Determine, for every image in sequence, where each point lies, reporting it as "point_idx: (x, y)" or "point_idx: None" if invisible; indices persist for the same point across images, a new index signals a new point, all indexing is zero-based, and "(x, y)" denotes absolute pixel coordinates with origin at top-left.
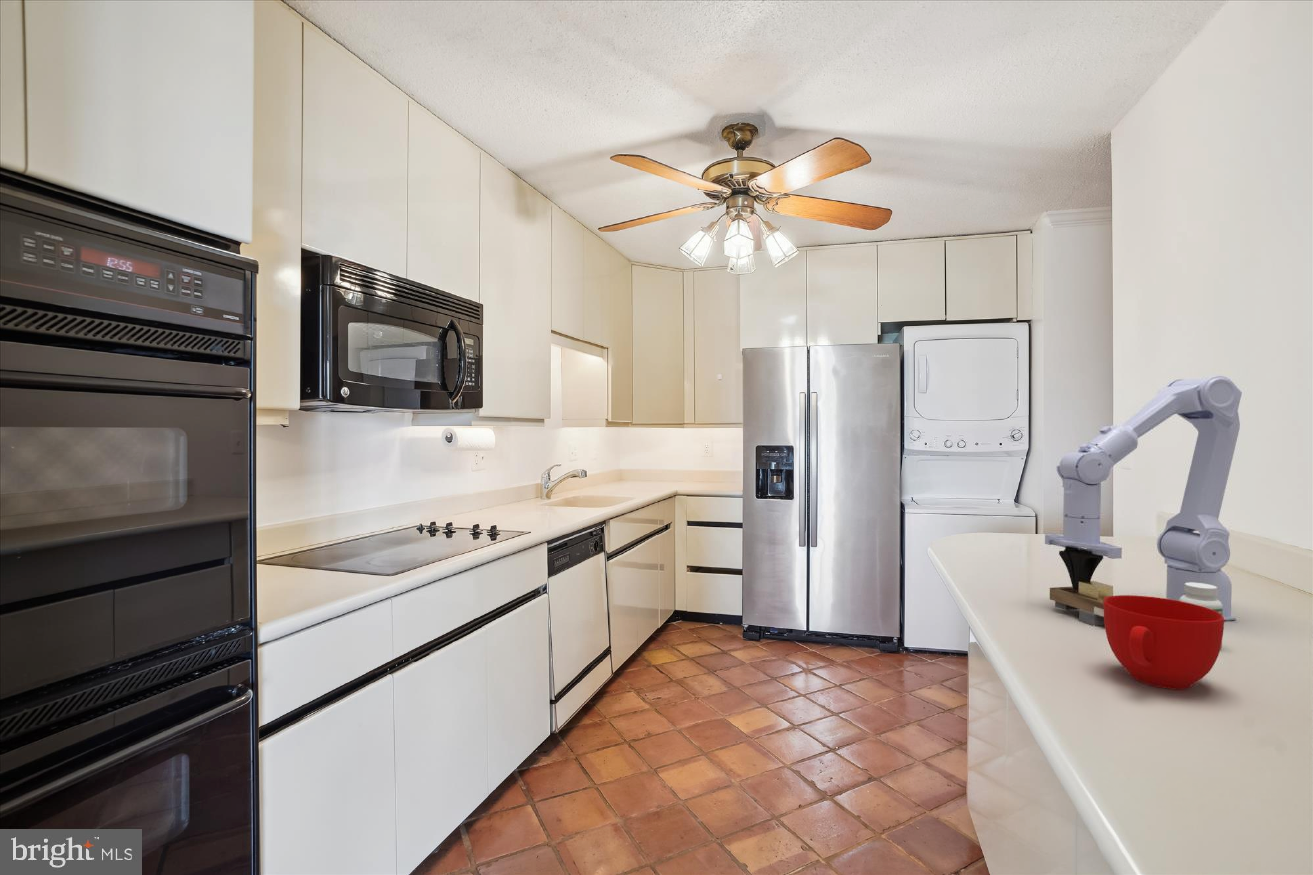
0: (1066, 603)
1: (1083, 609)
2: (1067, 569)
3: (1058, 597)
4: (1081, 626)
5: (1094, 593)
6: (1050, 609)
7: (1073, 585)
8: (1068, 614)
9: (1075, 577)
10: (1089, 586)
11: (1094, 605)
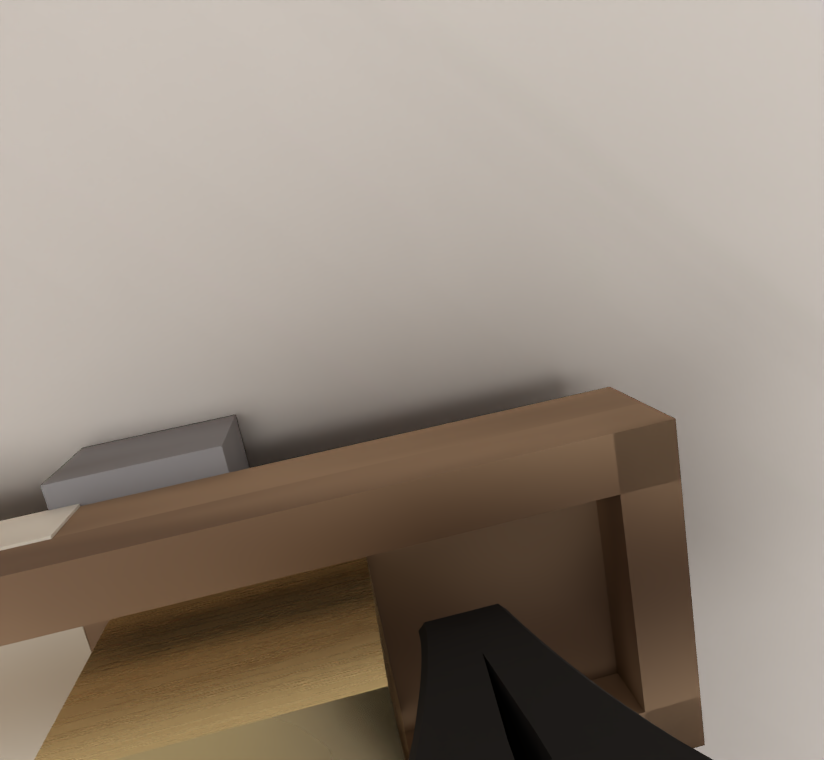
0: (414, 436)
1: (208, 480)
2: (670, 738)
3: (521, 424)
4: (58, 325)
5: (129, 680)
6: (578, 384)
7: (493, 626)
8: None
9: (475, 710)
10: (197, 715)
11: (41, 544)
